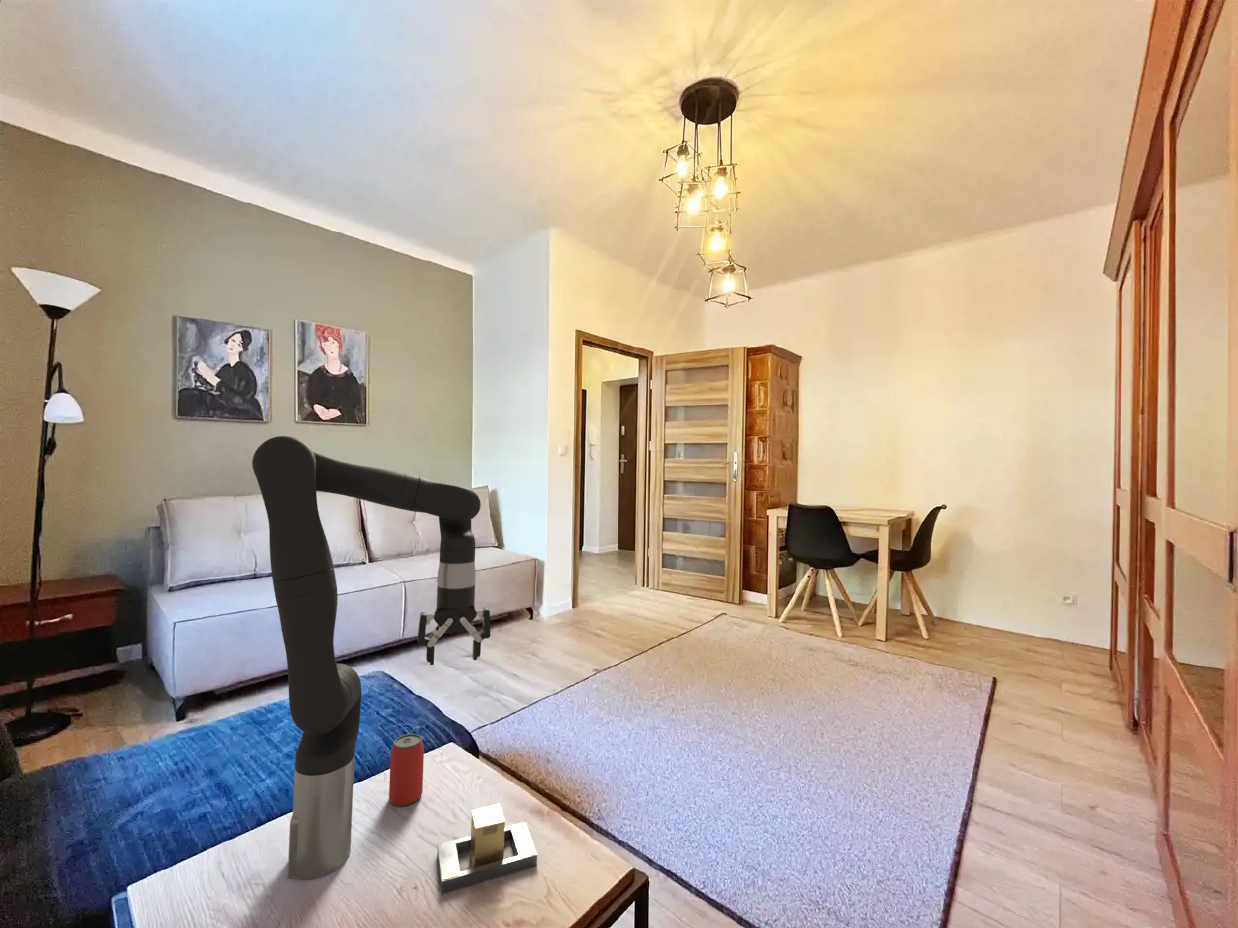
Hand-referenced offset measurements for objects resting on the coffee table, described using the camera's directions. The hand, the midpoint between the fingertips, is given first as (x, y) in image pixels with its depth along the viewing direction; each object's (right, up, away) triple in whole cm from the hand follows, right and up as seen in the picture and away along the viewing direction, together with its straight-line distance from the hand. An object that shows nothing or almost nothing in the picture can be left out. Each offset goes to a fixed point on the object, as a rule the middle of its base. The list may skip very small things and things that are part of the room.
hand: (453, 661), depth 104 cm
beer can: (-11, -30, +3) cm, 32 cm away
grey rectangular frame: (+11, -30, -14) cm, 35 cm away
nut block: (+11, -30, -14) cm, 35 cm away
